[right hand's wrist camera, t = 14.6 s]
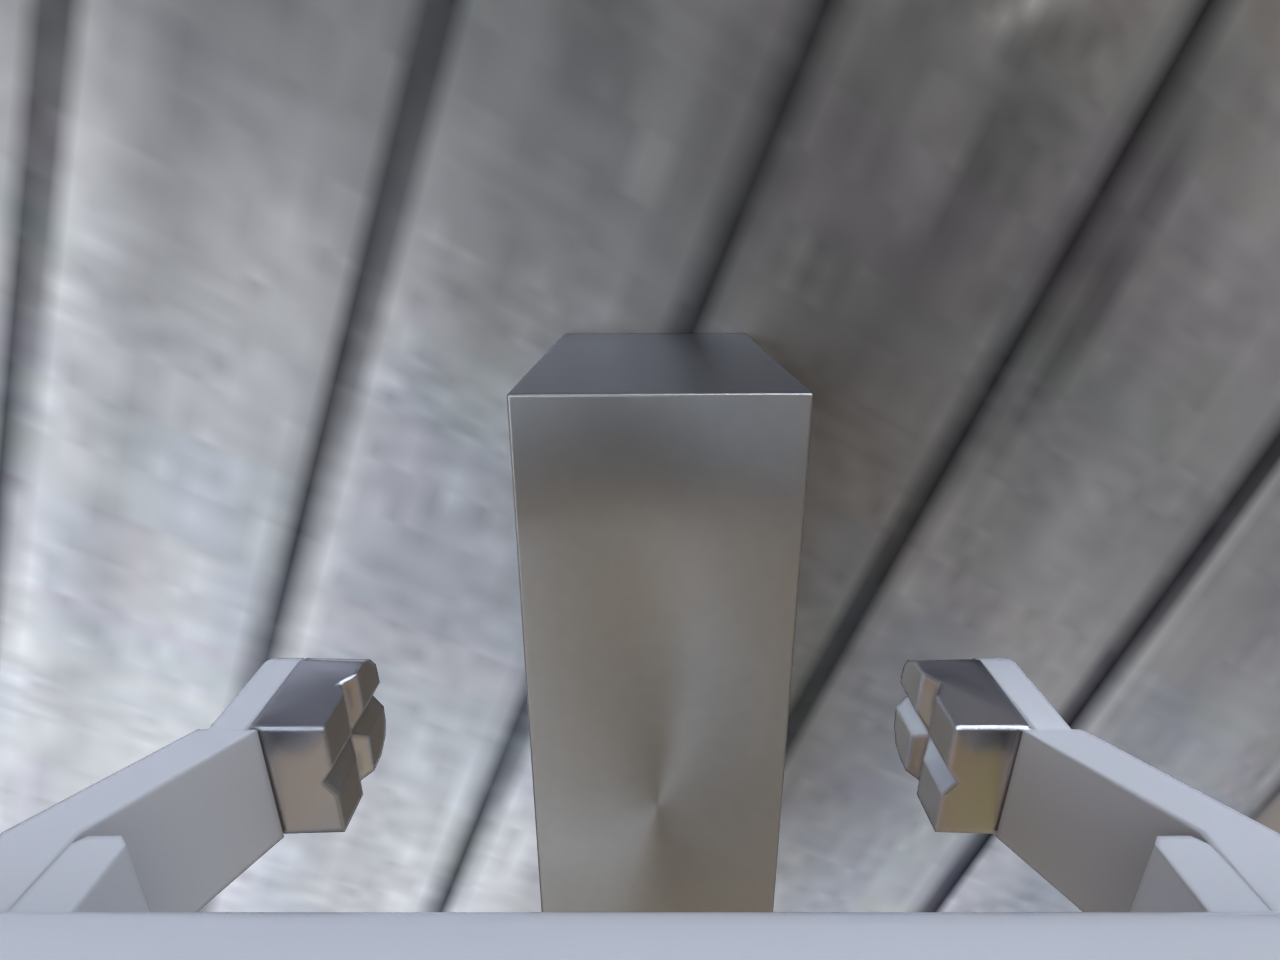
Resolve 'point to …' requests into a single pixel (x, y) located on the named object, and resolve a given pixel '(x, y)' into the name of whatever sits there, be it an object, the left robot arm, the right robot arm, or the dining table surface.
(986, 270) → the dining table surface
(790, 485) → the box
